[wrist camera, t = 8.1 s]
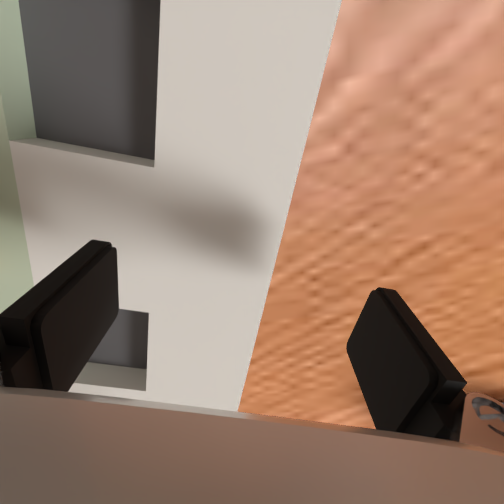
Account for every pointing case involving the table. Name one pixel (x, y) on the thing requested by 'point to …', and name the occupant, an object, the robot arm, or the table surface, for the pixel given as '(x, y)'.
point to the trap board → (158, 171)
